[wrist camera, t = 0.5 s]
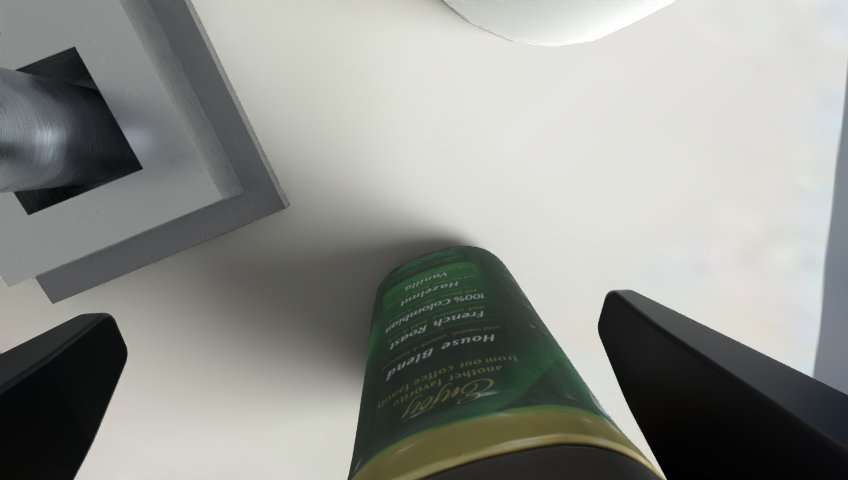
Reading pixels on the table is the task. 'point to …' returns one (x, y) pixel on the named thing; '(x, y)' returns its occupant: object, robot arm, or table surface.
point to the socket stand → (132, 143)
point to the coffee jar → (477, 385)
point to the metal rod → (57, 135)
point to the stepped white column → (554, 18)
